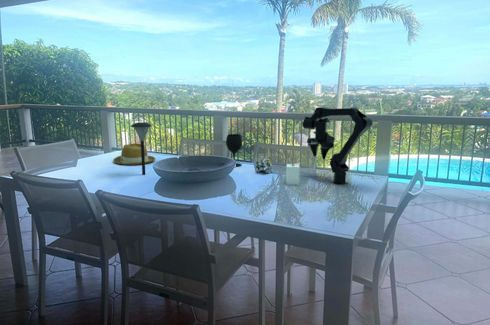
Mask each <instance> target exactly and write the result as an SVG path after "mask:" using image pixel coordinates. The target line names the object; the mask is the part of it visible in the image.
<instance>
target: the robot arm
mask: <svg viewBox="0 0 490 325" xmlns="http://www.w3.org/2000/svg"><path fill="white" fill-rule="evenodd" d="M333 116H349V117H351V118H350V119H351V120H352V121H353V123H354V126H353V130H352V133H351V135H349V138H348V139H347V140H346V142H345V143H344V145H343V147H342V148H341V149H340V151H339V152H336V153H334V154H332V157H331V158H330V159H329V160H330V161H329V166H330V168H331V171H332V173H333V180H331V183H332V184H333V183H334V184H335V185H347V184H348V181H346V178H347V172H349V170H350V167H349V166H348V164H347V162H348V161H347V160H348V156H349V155H350V153H351V152H352V151H353V149H354V147H355V145H356V144H357V143H358V141H359V140H360V138H361V136H362V135H364V134H365V133H367V131H368V130H369V129H370V128H371V127H372V126H373V121H372V119H371V117H367V115H366V114H365V113H363V112H361V110H359V109H358V108H357V107H348V108H347V107H345V108H331V107H325V106H322V107H321V106H319V107H316V108H315V110H314V112H313V114H312V115H311V116H304V119H303V121H302V128H303V129H306V130H308V129H309V130H314V129H315V131H313V134H314V137H309V138H307V139H306V143H307V144H308V146H309V149H310V150H311V153H312V156H313V157H317V154H318V153H317V151H318V147H319V145H320V152H321V159H322V160H326V157H327V154H328V153H329V150H332V149H333V148H334V147H335V144H334V142H335V139H336V137H335V136H332V135H330V134H329V133H328V132H327V123H331V120H330V119H329V118H328V117H333Z"/></svg>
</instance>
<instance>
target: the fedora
mask: <svg viewBox="0 0 490 325" xmlns="http://www.w3.org/2000/svg"><path fill="white" fill-rule="evenodd" d="M144 155H145V165H146V164H150V163H152V162H154V161H156V157H154V156H153V155H149V154H148V151H147V147H146V146H145V144H144ZM112 161H113V162H114V163H115V164H119V165H124V166H136V165H137V166H138V165H141V166H142V158H141V143H136V142H135V143H129V144H126V143H125V144H124V145H123V147H122V150H121V154H120V155H119V156H116V157H115V158H114V159H113V160H112Z"/></svg>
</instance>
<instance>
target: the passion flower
mask: <svg viewBox="0 0 490 325" xmlns="http://www.w3.org/2000/svg"><path fill="white" fill-rule="evenodd" d="M255 169H257V171H259V170H260V169H262V171H264V172H265V173H266V174H271V171H273V164H272V160H271V159H270V158H265V157H262V156H260V160H257V161H256V166H255Z"/></svg>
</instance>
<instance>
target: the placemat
mask: <svg viewBox="0 0 490 325" xmlns="http://www.w3.org/2000/svg"><path fill="white" fill-rule="evenodd" d="M309 180H310V177H307V176H306V177H305V176H299V185H289V184H286V175H284V176H283V177H282V178H281V179H280V180H279V181H278V182H277V183H276V184H275V185H276V186H283V187H284V186H285V187H294V188H303V187H304V186H305V184H307V182H308V181H309Z"/></svg>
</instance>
